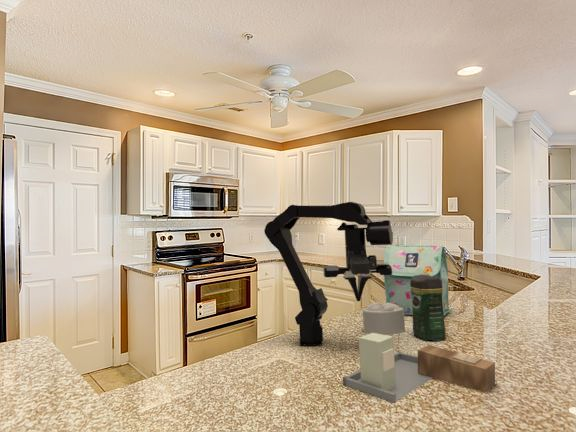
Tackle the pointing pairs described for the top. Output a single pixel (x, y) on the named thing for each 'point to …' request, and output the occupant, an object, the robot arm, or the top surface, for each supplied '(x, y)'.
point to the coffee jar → (427, 307)
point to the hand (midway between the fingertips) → (358, 300)
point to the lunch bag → (413, 272)
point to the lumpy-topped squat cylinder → (383, 319)
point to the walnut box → (456, 368)
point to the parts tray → (405, 379)
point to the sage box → (377, 360)
